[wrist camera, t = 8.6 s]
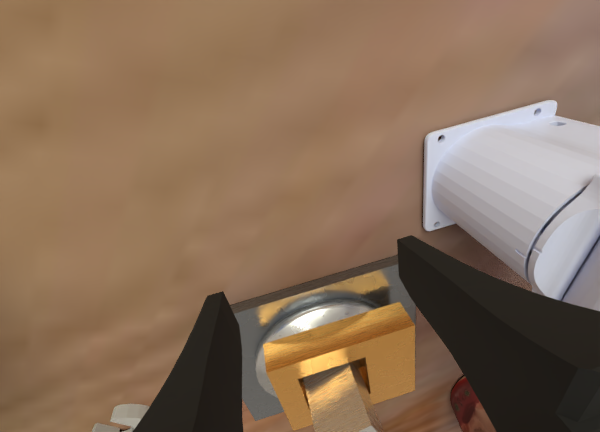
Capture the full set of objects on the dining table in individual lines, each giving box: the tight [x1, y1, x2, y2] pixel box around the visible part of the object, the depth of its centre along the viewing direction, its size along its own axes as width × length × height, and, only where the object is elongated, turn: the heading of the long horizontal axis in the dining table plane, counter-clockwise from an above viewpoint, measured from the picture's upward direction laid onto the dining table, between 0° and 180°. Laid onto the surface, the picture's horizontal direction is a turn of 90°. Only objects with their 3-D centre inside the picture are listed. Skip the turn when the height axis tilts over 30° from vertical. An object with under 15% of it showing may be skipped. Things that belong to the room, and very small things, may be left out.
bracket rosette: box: [230, 255, 416, 431], centre depth 27 cm, size 18×16×4 cm
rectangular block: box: [303, 360, 384, 432], centre depth 25 cm, size 4×4×7 cm
